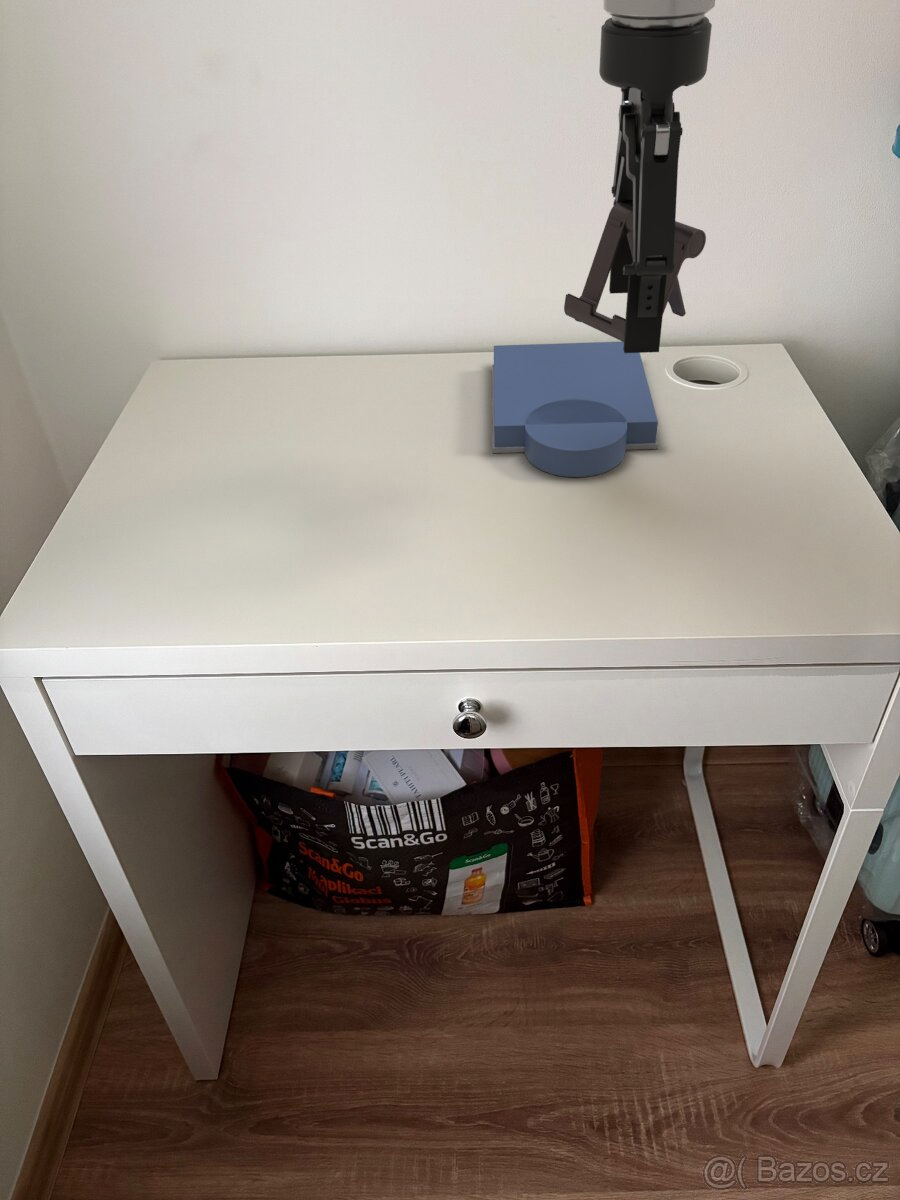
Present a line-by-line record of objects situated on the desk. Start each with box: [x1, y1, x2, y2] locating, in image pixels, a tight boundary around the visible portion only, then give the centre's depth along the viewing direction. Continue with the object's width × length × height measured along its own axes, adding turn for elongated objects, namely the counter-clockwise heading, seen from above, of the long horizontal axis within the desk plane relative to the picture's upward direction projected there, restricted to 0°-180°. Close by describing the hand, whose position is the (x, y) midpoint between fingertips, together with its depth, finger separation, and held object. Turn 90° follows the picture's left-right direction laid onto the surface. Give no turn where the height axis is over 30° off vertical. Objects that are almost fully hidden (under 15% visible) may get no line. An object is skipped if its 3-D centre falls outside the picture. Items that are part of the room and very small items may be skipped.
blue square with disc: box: [491, 341, 659, 478], centre depth 101 cm, size 23×16×3 cm
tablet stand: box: [563, 202, 707, 342], centre depth 79 cm, size 9×8×8 cm
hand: (632, 319), depth 81 cm, fingers closed on tablet stand, 11 cm apart
